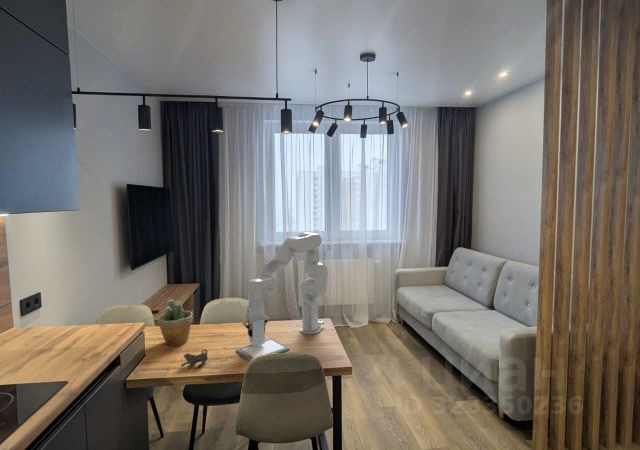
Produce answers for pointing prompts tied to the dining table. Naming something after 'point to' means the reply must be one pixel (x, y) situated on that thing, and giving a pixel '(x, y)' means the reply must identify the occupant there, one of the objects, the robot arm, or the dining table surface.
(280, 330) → the dining table surface
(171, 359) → the dining table surface
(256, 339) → the small box
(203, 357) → the dog figurine
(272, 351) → the writing board
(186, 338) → the potted plant
